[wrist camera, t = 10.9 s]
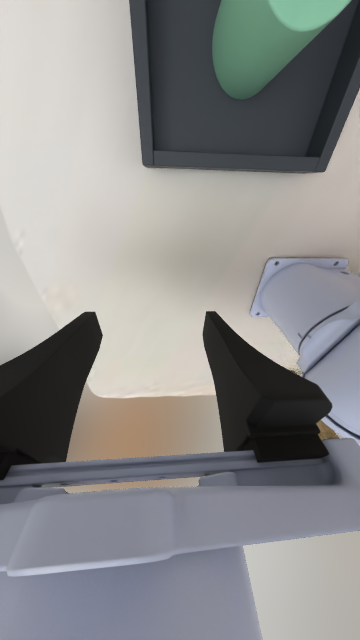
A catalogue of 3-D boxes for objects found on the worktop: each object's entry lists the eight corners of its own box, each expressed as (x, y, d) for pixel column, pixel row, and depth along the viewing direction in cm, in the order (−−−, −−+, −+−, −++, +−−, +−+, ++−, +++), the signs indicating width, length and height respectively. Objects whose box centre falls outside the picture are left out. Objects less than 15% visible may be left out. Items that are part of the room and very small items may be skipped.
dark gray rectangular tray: (427, -166, 8) (514, -282, 6) (304, 173, 15) (325, 172, 13) (117, -220, 7) (98, -376, 5) (145, 167, 14) (142, 165, 12)
